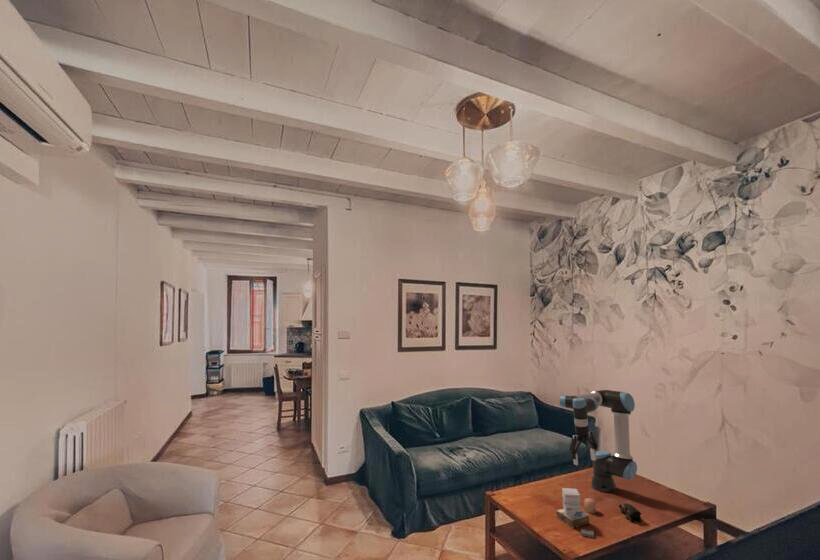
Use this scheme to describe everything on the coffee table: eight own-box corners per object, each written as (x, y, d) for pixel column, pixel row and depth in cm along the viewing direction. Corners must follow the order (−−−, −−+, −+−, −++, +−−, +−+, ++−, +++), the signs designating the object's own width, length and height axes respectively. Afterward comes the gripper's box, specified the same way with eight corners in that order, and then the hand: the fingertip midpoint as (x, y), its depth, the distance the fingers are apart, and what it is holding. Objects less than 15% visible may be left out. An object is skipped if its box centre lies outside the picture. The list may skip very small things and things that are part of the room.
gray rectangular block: (581, 536, 204) (581, 532, 205) (581, 532, 208) (581, 528, 208) (594, 538, 202) (593, 534, 202) (593, 534, 206) (593, 530, 206)
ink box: (578, 509, 223) (577, 488, 224) (582, 516, 215) (580, 494, 216) (562, 508, 225) (561, 487, 226) (565, 515, 216) (564, 494, 218)
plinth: (557, 518, 223) (556, 510, 223) (572, 513, 227) (572, 505, 228) (573, 528, 212) (572, 519, 212) (589, 523, 216) (588, 514, 217)
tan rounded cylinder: (582, 509, 232) (582, 499, 232) (590, 507, 234) (589, 497, 235) (591, 514, 226) (590, 503, 227) (598, 512, 229) (597, 501, 229)
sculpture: (616, 511, 228) (615, 499, 229) (626, 510, 229) (625, 498, 230) (632, 523, 215) (631, 510, 216) (642, 522, 216) (641, 509, 217)
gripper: (570, 430, 220) (573, 468, 219) (602, 423, 230) (605, 460, 228) (560, 427, 227) (563, 464, 226) (592, 420, 237) (595, 456, 235)
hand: (584, 462), depth 227 cm, fingers open, 13 cm apart
